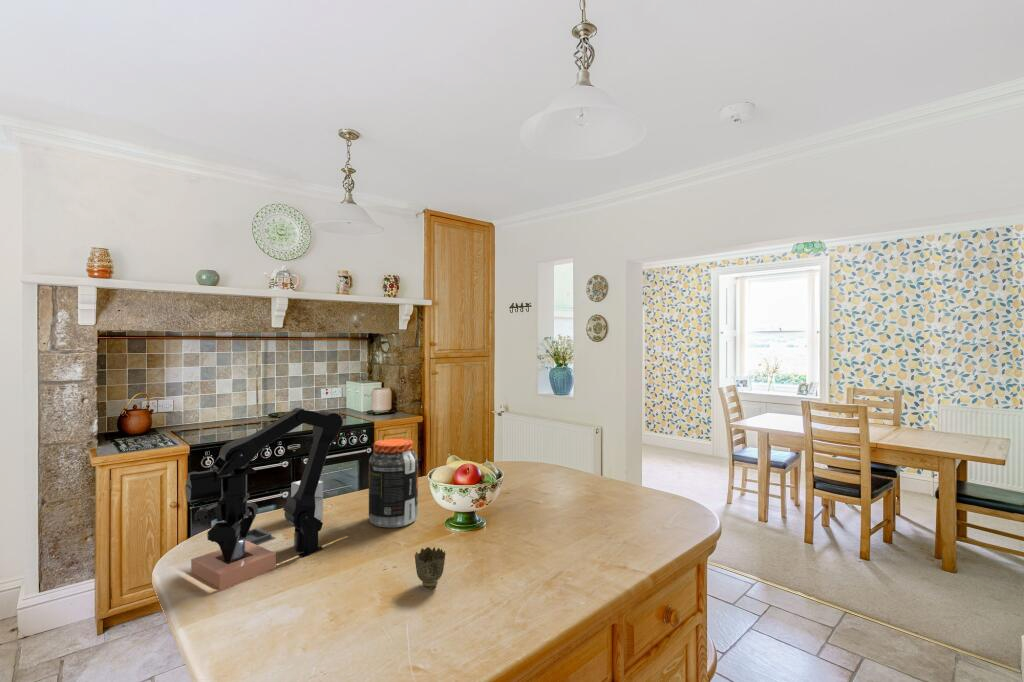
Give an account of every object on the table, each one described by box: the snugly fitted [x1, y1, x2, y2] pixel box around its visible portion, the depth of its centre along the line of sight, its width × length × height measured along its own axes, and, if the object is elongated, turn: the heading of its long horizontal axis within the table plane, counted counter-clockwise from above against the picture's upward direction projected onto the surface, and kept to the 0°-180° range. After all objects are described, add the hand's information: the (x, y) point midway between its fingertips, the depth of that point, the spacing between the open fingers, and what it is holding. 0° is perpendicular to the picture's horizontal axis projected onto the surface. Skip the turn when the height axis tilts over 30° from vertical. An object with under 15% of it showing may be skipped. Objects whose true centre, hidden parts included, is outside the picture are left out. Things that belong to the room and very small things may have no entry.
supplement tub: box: [368, 437, 419, 528], centre depth 164 cm, size 16×16×26 cm
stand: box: [245, 527, 277, 546], centre depth 146 cm, size 10×10×2 cm
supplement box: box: [290, 480, 324, 521], centre depth 164 cm, size 7×7×13 cm
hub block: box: [190, 540, 277, 592], centre depth 128 cm, size 14×14×4 cm
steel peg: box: [223, 537, 245, 564], centre depth 128 cm, size 5×5×8 cm
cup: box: [414, 546, 447, 589], centre depth 122 cm, size 8×7×8 cm
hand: (234, 553), depth 128 cm, fingers open, 9 cm apart
